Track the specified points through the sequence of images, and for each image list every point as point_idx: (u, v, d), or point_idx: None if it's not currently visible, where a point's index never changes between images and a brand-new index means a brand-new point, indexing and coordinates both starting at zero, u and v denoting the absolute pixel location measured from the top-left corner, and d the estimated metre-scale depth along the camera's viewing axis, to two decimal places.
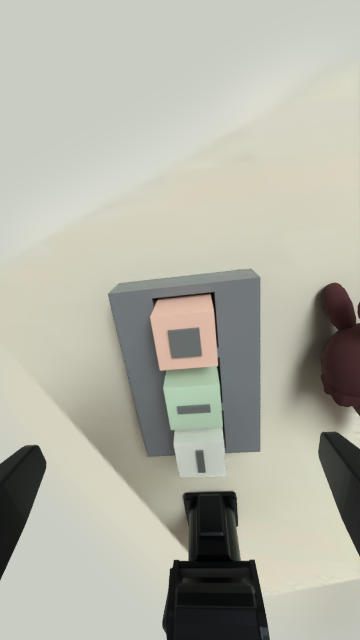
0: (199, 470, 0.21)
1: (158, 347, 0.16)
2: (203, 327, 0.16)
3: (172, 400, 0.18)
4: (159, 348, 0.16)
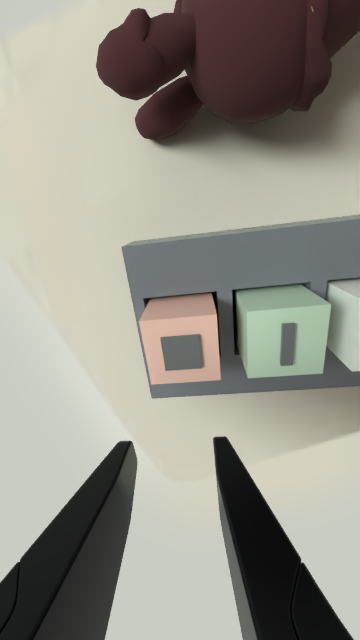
0: None
1: (188, 379, 0.14)
2: (160, 332, 0.13)
3: (269, 369, 0.14)
4: (189, 378, 0.14)
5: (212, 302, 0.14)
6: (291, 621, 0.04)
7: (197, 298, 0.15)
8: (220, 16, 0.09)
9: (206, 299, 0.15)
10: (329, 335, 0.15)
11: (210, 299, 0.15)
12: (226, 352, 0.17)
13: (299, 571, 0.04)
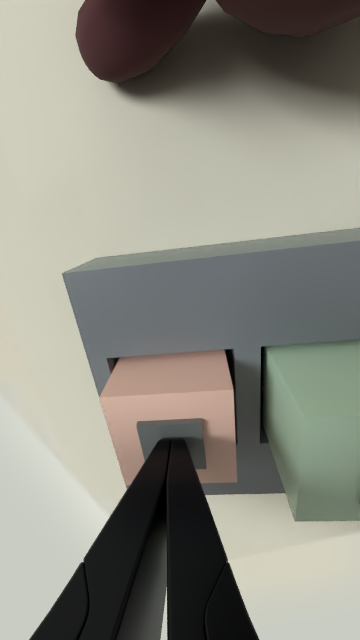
0: None
1: None
2: (136, 414, 0.08)
3: (337, 510, 0.07)
4: None
5: (223, 355, 0.09)
6: (203, 619, 0.04)
7: None
8: None
9: None
10: None
11: None
12: (246, 439, 0.10)
13: (222, 570, 0.04)
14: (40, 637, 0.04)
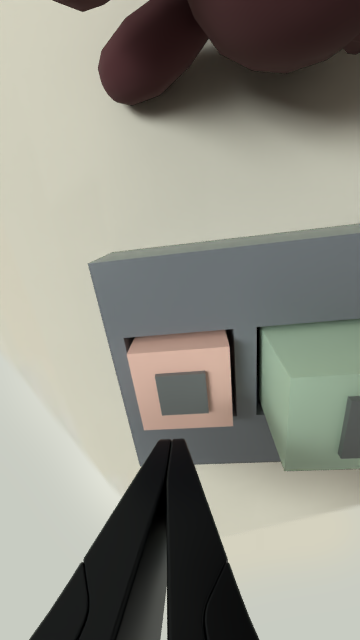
0: None
1: (191, 424, 0.11)
2: (155, 368, 0.10)
3: (319, 460, 0.09)
4: (193, 424, 0.11)
5: None
6: (203, 619, 0.04)
7: None
8: None
9: None
10: None
11: None
12: (244, 411, 0.12)
13: (222, 571, 0.04)
14: (40, 637, 0.04)
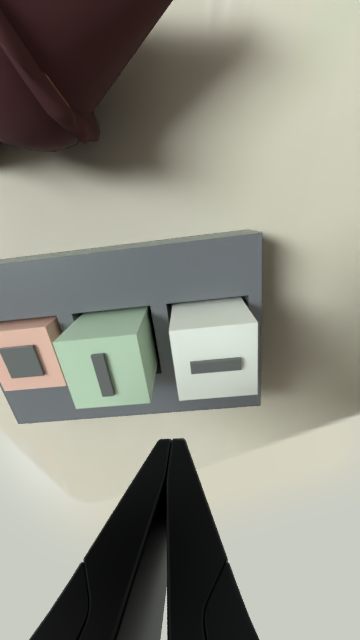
0: (235, 368, 0.12)
1: (37, 385, 0.15)
2: None
3: (94, 399, 0.13)
4: (37, 385, 0.15)
5: None
6: (203, 619, 0.04)
7: None
8: None
9: None
10: None
11: None
12: None
13: (222, 571, 0.04)
14: (40, 637, 0.04)
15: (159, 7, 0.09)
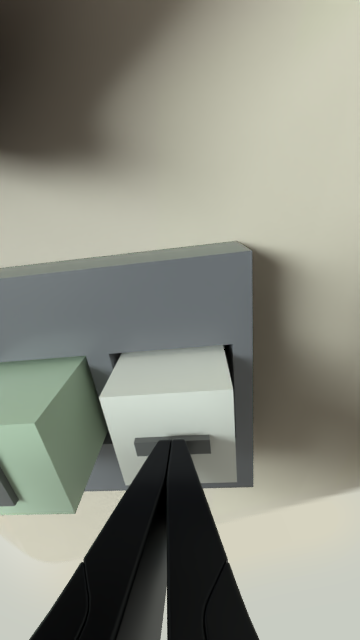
0: (201, 451, 0.08)
1: None
2: None
3: None
4: None
5: None
6: (203, 619, 0.04)
7: None
8: None
9: None
10: None
11: None
12: None
13: (222, 570, 0.04)
14: (40, 637, 0.04)
15: None
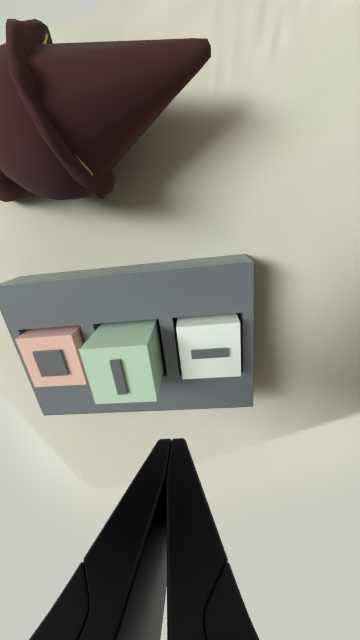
0: (223, 356, 0.16)
1: (62, 383, 0.18)
2: (32, 347, 0.17)
3: (111, 397, 0.16)
4: (62, 382, 0.18)
5: None
6: (203, 619, 0.04)
7: None
8: None
9: None
10: None
11: None
12: None
13: (222, 571, 0.04)
14: (40, 637, 0.04)
15: (165, 103, 0.12)
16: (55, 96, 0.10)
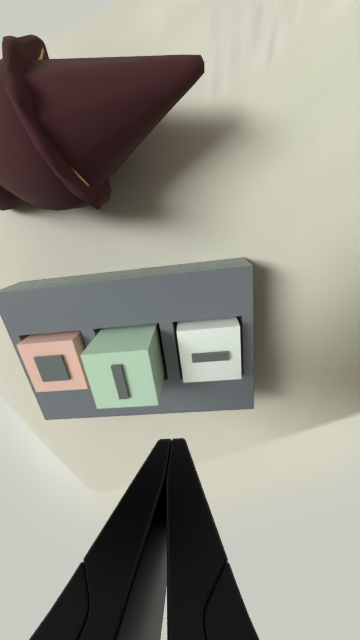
0: (224, 359, 0.16)
1: (63, 388, 0.18)
2: (34, 353, 0.17)
3: (112, 401, 0.16)
4: (64, 387, 0.18)
5: None
6: (202, 619, 0.04)
7: None
8: None
9: None
10: None
11: None
12: None
13: (222, 571, 0.04)
14: (40, 637, 0.04)
15: (159, 116, 0.12)
16: (51, 112, 0.10)
